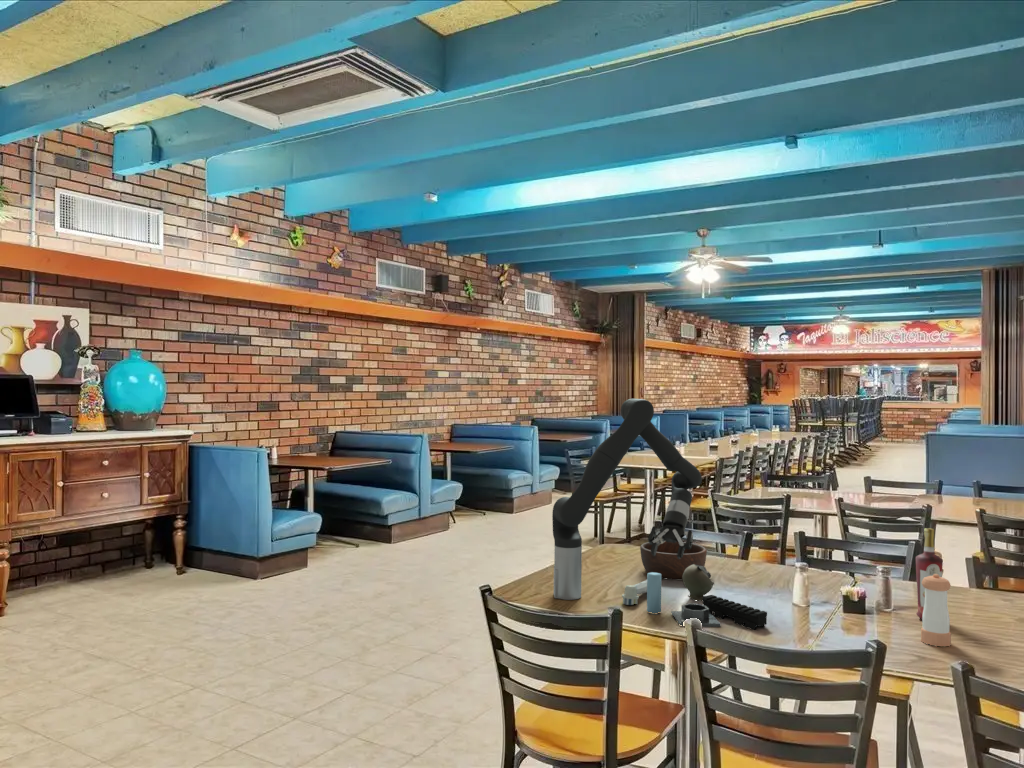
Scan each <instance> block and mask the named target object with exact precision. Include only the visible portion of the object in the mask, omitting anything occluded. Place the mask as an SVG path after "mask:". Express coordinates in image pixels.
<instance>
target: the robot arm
mask: <svg viewBox="0 0 1024 768" xmlns="http://www.w3.org/2000/svg"><path fill="white" fill-rule="evenodd" d="M654 413H655V410H654V406H653V404H652V402H651V401H650V400H647V399H645V398H644V399H643V398H628V399H626V400H625V401H624V402H623V403H622V404H621V406H620V416H621V418H622V419H623V421H622V423H620V425H619V427H618V428H617V429H616V430H615V431H614V432H613V433H612V434H611V435H609V436H608V437H607V438H606V439H604V441H602V442H601V443H600V444H599V445H598V447H597V448H596V449H595V451H594V452H593V453H592V455H591V456H590V458H589V459H588V461H587V463H586V465H585V468H584V472H583V473H582V474H583V475H582V478H581V480H580V482H579V484H578V485H577V487H576V489H575V490H574V491H573V493H572V494H571V496H569V497H568V496H562V497H559V498H558V499H557V500H556V501H555V502H554V504H553V506H552V516H551V517H552V535H553V539H554V553H553V554H554V555H553V556H554V557H553V559H554V564H553V597H554V599H559V600H569V601H571V600H572V601H573V600H578V599H580V598H581V597H582V570H583V569H582V561H583V560H582V559H583V557H582V554H583V553H582V552H583V551H582V550H583V549H582V547H583V544H582V543H583V540H582V536H581V533H580V531H579V530H580V529H579V525H580V524H582V522H583V521H584V519H585V518H586V516H587V514H588V512H589V511H590V509H591V506H592V505H593V503H594V501H595V500H596V498H597V496H598V495H599V493H600V492H601V491H602V489H603V488H604V486H605V485H606V484H607V482H608V481H609V480H610V478H611V476H612V475H613V474H614V472H615V470H616V469H617V468H618V467H619V465H620V464H621V462H622V460H623V459H624V457H625V456H626V454H627V453H628V451H629V450H630V448H631V447H632V445H633V443H635V441H636V440H637V438H638V437H639V436H640V437H641V438H642V439H643V440H644V441H645V442H646V444H647V446H649V447H650V448H651V450H652V451H653V453H654V454H655V455H656V456H657V458H658V459H659V461H660V462H661V463H662V465H663V466H664V467H665V469H666V470H668V471H670V472H674V474H673V475H672V477H671V496H670V500H669V503H668V506H667V508H666V511H665V514H664V519H663V522H662V526H661V527H660V528H658V527H657V528H656V526H652V528H651V530H650V532H649V536H648V538H647V540H648V542H649V543H650V545H652V547H651V553H652V555H653V556H655V555H656V552H657V548H658V547H657V546H659V545H660V544H663V543H664V542H665V541H666V542H672V543H675V542H678V544H679V549H678V553H677V558H678V559H680V558H682V557H683V553H684V550H685V549H691V546H692V543H693V539H694V534H693V533H694V532H693V531H692V530H691V529H690V530H688V531H686V526H687V523H688V520H689V517H690V516H689V515H690V509H691V505H692V502H693V501H692V500H693V494H692V493H691V491H690V489H693V488H697V487H699V486H700V485H701V484H702V481H703V477H702V473H701V472H700V470H699V469H698V468H697V467H696V465H694V464H692V463H691V462H690V461H689V460H688V459H686V458H685V457H683V456H682V454H681V453H680V451H679V450H678V449H677V447H676V446H675V445H674V444H673V442H672V441H671V440H670V439H669V438H668V437H667V436H665V435H664V434H663V433H662V432H661V431H660V430H659V429H658V428H657V427H656V426H655V425H654V424H653V422H652V420H653V417H654ZM684 537H686V541H685V542H686V543H685V544H684V543H683V542H684V541H683V540H682V539H683V538H684Z"/></svg>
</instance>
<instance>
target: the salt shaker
mask: <svg viewBox="0 0 1024 768" xmlns="http://www.w3.org/2000/svg"><path fill="white" fill-rule="evenodd" d="M922 585H923V587H925V604H924V610H923V615H922V619H921V621H922V627H921V628H920V641H921V642H922V643H923V642H924V643H923V644H925V643H927V644H926V645H928V644H930V645H929V646H931V645H936V646H935V647H937V646H949V647H951V646H952V632H951V631H950V624H951V623H950V621H951V620H950V619H951V618H950V612H949V607H948V591H950V589H951V587H952V586H951V585H952V584H951V583H950V581H949V580H948V579H947V578H945V577H943V576H942V577H939V575H938V574H933V576H927V577H924V579H923V580H922ZM950 645H951V646H950Z"/></svg>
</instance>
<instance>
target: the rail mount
mask: <svg viewBox="0 0 1024 768" xmlns="http://www.w3.org/2000/svg"><path fill="white" fill-rule="evenodd" d="M702 603H703V604H702V605H705V606H707V607H708V608H709V611H710V613H711V614H712V615H713V616H714V617H715V618H718V619H721V620H724V619H725V618H724V617H725V616H726V617H730V618H732V619H733V623H734V624H736V625H739V626H741V627H744V628H748V629H750V628H751V629H750V630H754V631H756V628H757V627H762V628H765V627H766V626H765V625H767V624H768V623H767V621H768V619H767V617H768V611H765V610H760V609H759V608H755V607H752V606H748V605H746V604H741V603H739V602H735V601H733V600H730V601H729V599H726V598H723V597H719V596H716V595H715V594H708V595H704V596H703V601H702Z"/></svg>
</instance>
